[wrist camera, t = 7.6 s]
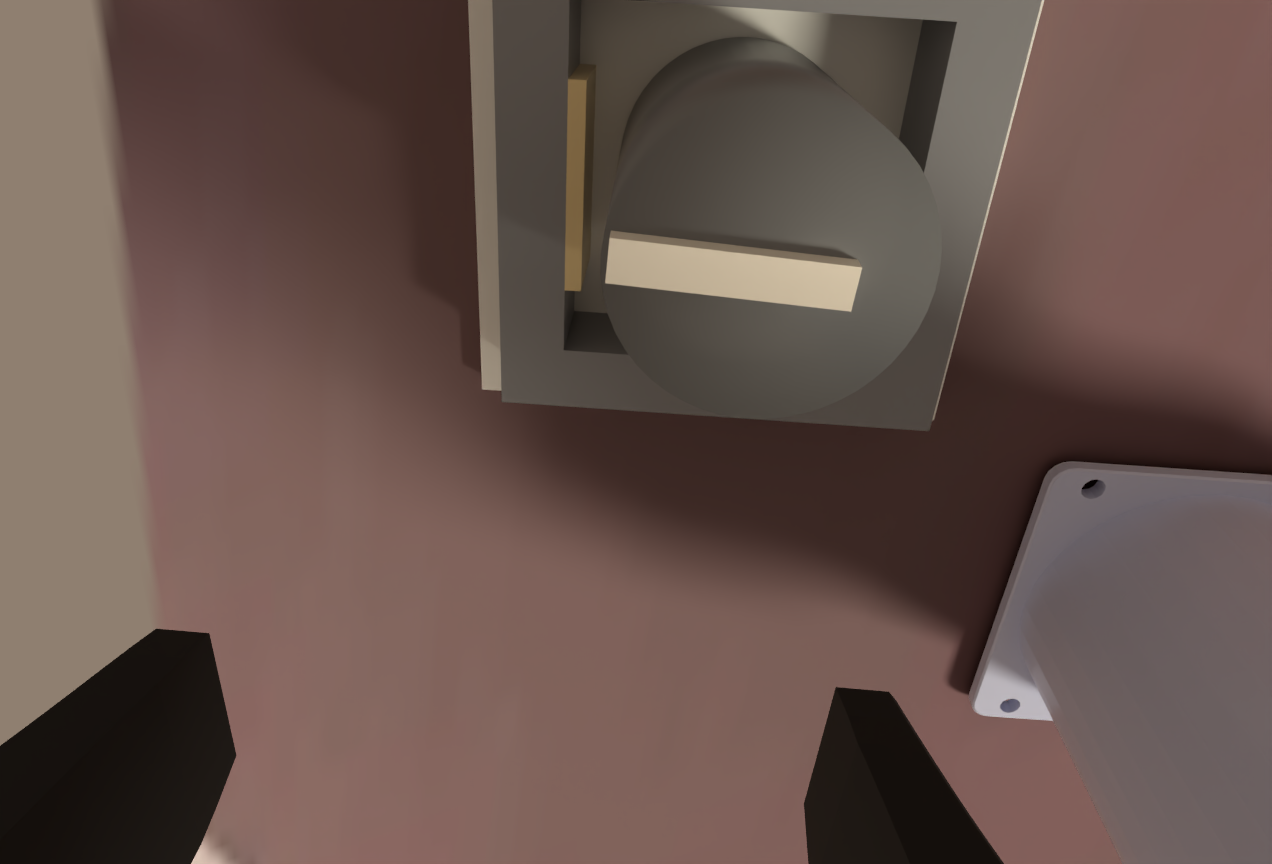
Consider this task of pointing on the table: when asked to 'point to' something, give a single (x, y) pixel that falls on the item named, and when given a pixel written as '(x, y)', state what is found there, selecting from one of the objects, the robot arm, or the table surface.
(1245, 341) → the table surface
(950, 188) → the hub plate
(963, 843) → the robot arm
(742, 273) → the knob
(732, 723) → the table surface
